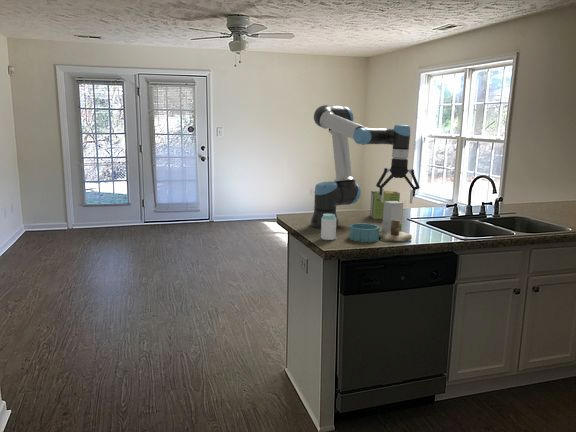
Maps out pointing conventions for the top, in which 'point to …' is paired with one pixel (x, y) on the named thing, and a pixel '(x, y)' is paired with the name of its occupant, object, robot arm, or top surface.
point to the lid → (395, 233)
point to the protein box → (377, 205)
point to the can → (328, 227)
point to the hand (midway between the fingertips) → (396, 202)
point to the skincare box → (392, 214)
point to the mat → (395, 241)
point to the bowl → (364, 232)
